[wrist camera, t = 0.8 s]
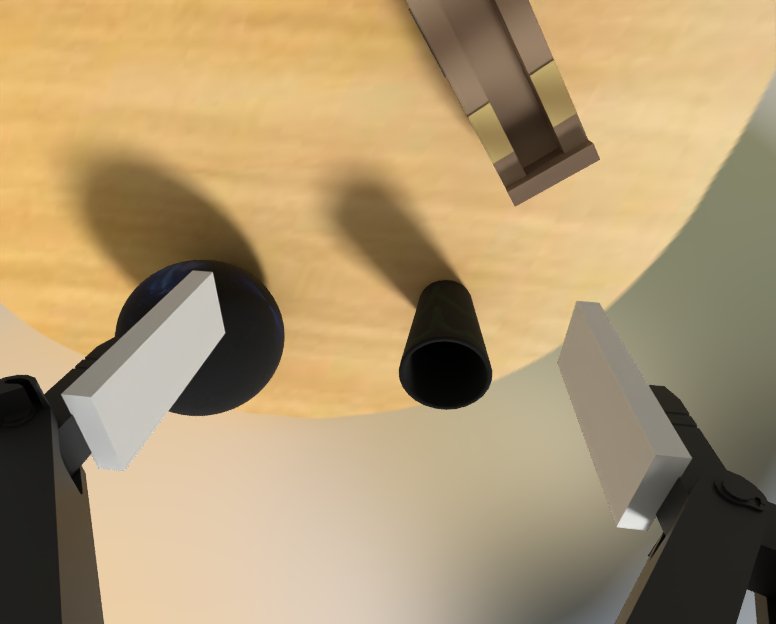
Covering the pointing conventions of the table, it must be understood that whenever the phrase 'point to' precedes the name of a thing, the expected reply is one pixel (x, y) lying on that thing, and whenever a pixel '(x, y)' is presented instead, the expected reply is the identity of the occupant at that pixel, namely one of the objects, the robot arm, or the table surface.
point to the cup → (445, 350)
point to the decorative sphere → (237, 346)
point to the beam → (508, 89)
